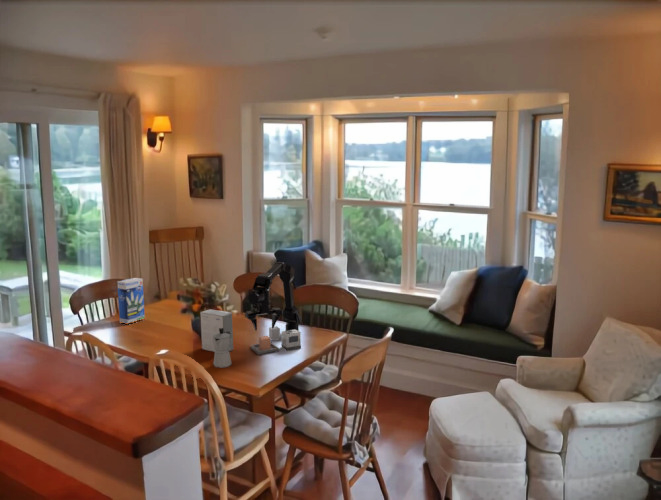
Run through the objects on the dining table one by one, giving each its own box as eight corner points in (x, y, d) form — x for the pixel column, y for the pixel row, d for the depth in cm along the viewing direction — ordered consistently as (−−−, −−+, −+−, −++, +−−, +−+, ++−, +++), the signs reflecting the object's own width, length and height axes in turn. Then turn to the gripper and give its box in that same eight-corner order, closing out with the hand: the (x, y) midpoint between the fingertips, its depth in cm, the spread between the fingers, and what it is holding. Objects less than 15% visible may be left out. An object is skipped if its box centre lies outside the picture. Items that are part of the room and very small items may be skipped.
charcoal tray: (270, 345, 299) (270, 341, 299) (278, 351, 289) (278, 348, 289) (251, 348, 294) (251, 345, 294) (258, 354, 284) (258, 351, 284)
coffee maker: (224, 370, 264) (223, 333, 261) (207, 368, 267) (206, 331, 264) (238, 359, 278) (237, 324, 275) (222, 357, 281) (221, 322, 278)
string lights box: (127, 325, 333) (124, 282, 329) (119, 323, 337) (116, 281, 333) (145, 319, 344) (143, 278, 340) (137, 318, 348) (134, 277, 344)
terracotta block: (267, 346, 294) (267, 335, 293) (270, 349, 291) (270, 338, 290) (259, 348, 292) (259, 337, 291) (262, 350, 288) (262, 339, 287)
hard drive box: (233, 350, 291) (232, 312, 288) (224, 354, 285) (222, 316, 282) (211, 344, 299) (209, 308, 296) (201, 349, 293) (199, 312, 289)
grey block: (276, 336, 313) (276, 326, 312) (279, 339, 309) (279, 328, 308) (269, 337, 311) (269, 327, 310) (272, 340, 307) (272, 329, 306)
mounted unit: (295, 344, 300) (295, 329, 299) (300, 348, 294) (300, 332, 293) (281, 346, 296) (281, 331, 295) (286, 350, 290) (286, 334, 289)
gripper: (274, 294, 298) (275, 322, 301) (241, 298, 290) (241, 327, 292) (283, 299, 289) (283, 328, 291) (248, 303, 280) (249, 333, 283)
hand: (264, 329), depth 290 cm, fingers open, 9 cm apart
